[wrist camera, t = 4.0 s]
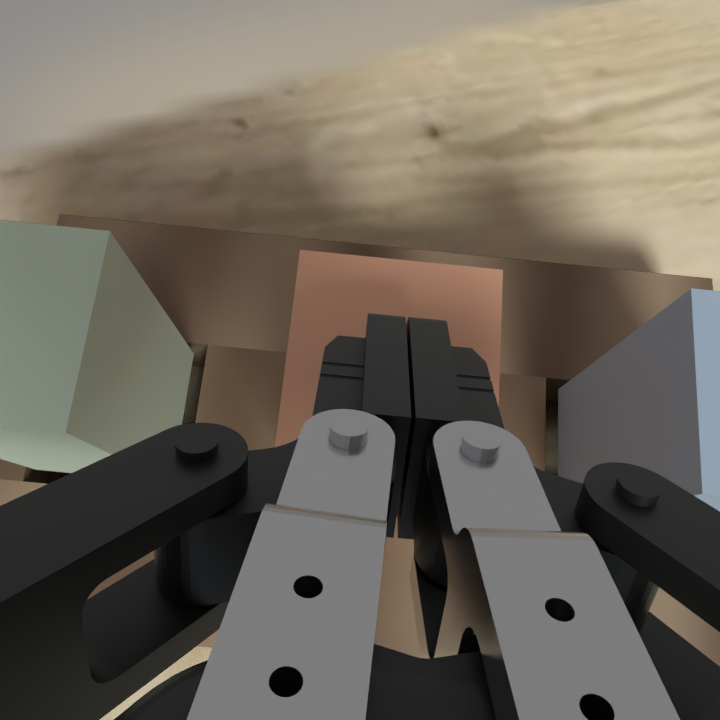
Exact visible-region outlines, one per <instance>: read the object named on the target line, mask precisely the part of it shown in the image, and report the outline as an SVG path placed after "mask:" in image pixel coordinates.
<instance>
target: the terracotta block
mask: <svg viewBox="0 0 720 720" xmlns="http://www.w3.org/2000/svg"><path fill="white" fill-rule="evenodd" d="M502 285H503V270H500V269H490V268H480V267H470V266H459V265H449V264H439V263H429V262H419V261H409V260H399V259H389V258H379V257H368V256H358V255H348V254H338V253H328V252H318V251H308V250H300V253H299V261H298V269H297V277H296V285H295V293H294V300H293V308H292V316H291V324H290V332H289V339H288V347H287V355H286V363H285V371H284V378H283V386H282V394H281V402H280V410H279V418H278V425H277V433H276V441H275V447H278V446H281V445H285V444H287V443H290V442H292V441H294V440H296V439H298V438H299V435H300V432H301V429H302V427H303V425H304V423H305V422H306V421H307V420H308V419H309V418H311V417H312V415H313V410H314V404H315V399H316V393H317V388H318V382H319V377H320V371H321V365H322V360H323V354H324V349H325V346H327V345H328V344H329V343H330V342H331V341H332V340H333V339H335V338H336V337H337V336H338V335H339V336H350V337H360V338H365V335H366V325H367V316H368V313H371V314H382V315H392V316H403V317H406V324H407V320H408V317H414V318H425V319H435V320H446V321H447V325H448V331H449V336H450V342H451V346H456V347H467V348H472V349H473V350H474V351H475V352H476V353H477V354H478V355H479V356H480V357H481V358H482V359H484V360H485V361H486V363H487V367H488V370H489V374H490V380H491V381H492V385H493V389H494V393H495V396H496V400H497V403H498V407H499V378H500V347H501V316H502Z"/></svg>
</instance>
